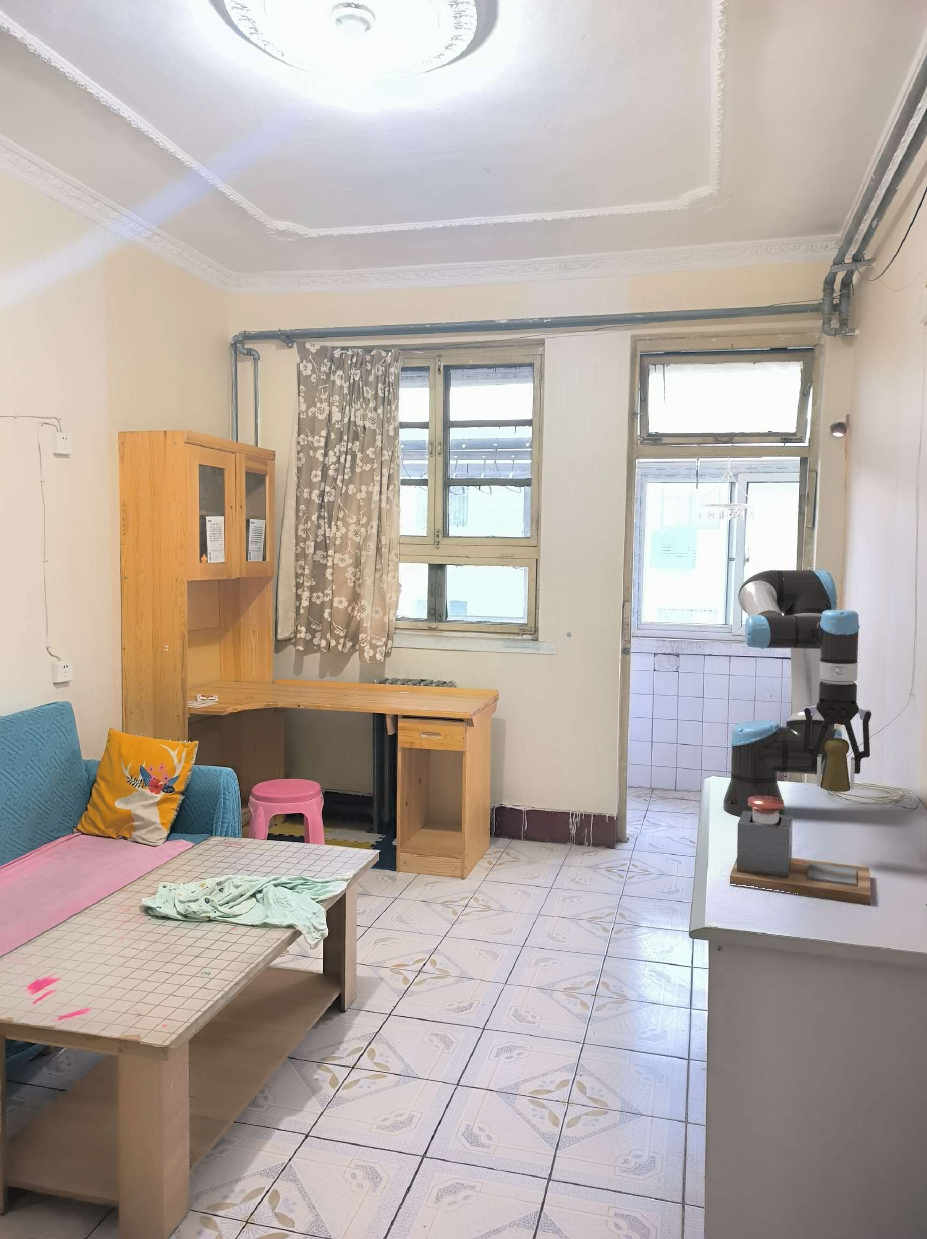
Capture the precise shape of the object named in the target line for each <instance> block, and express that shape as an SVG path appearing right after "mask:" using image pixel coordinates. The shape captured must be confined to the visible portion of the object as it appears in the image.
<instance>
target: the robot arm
mask: <svg viewBox="0 0 927 1239" xmlns="http://www.w3.org/2000/svg"><path fill="white" fill-rule="evenodd" d="M737 597H738V598H737V600H738V603H739V606H740V607H741V609H742V610H743V611H744V613H746V614H747V617H746V618H745V622H744V623H745V624H744V638H745V644H746V645H747V647H749V648H756V649H757V648H758V649H762V650H763V649H790V672H791V673H790V674H791V678H790V679H791V682H790V683H791V710H792V711H791V712H792V713H791V716H789V717H788V719H787V720H786V722H785V727H780V725H779V722H777V721H775V720H766V719H764V720H763V719H762V720H750V721H743V722H741V723H738V724H736V725H735V726H734V727H733V728H732V731H731V741H730V745H731V761H730V781H729V784H728V787H727V789H726V792H725V794H724V798H723V807H722V808H723V810H724V811H726V812H727V813H729V814H732V815H735V816H737V817H741V815H742V813H743V811H751V812H753V808H752V807H750V806H749V805H748V798H749V797H751V796H758V795H763V796H772V797H777V798H780V799H782V800H783V797H782V796H783V795H782V792H781V790H780V787H779V784H778V782H779V781H778V780H779V779H778V778H779V774H778V773H782V774H784V773H785V774H802V775H804V774H805V775H806V774H807V775H815V776H816V787H820V786H821V780H822V774H823V768H824V762H825V757H826V752H825V750H824V742H825V740H826V739H828V738H841V739H843V737H842V730H840V729H838V728H835V725H840V726H844V728H845V731H846V734H847V738H848V742H849V745H850V746H851V751H852V753H853V756H850V775H849V782H850V790H855V775H859V774H860V773H861V764H862V763H861V761H862V759H864V758H869V757H870V756H871V746H870V725H869V724H870V723H869V722H870V721H871V717H872V711H871V710H869V709H863V708H860V707H859V705H858V702H857V699H858V698H857V697H858V694H857V692H858V685H857V683H856V681H858V664H859V661H858V656H859V654H858V652H859V631H860V628H861V627H860V626H861V625H860V624H859V620H860V619H859V614H858V612H857V611H855V610H850V609H838V602H837V600H838V596H837V588H836V583H835V581H834V578H833V576H832V575H831V573H830V572H829V571H826V570H819V569H818V570H817V569H816V570H815V569H781V570H780V569H778V570H777V569H769V570H764V571H760V572H757V573H756V574H753V575H752V576H750V577H749V578H747V579H746V580H745V581H744V582H743V583H742V585H741V586H740V588H739V591H738V595H737ZM856 715H859V719H860V720H861V721H862V741H863V742H862V743H863V750H861V751H860V747H859V744H858V742H857V738H856V735H855V732H854V731H855V730H854V728H853V725H852V722H851V721H852V720H853V719H854V718H855V716H856ZM783 801H784V800H783ZM779 815H785V807H784V808H783V809H781V810H779Z"/></svg>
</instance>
